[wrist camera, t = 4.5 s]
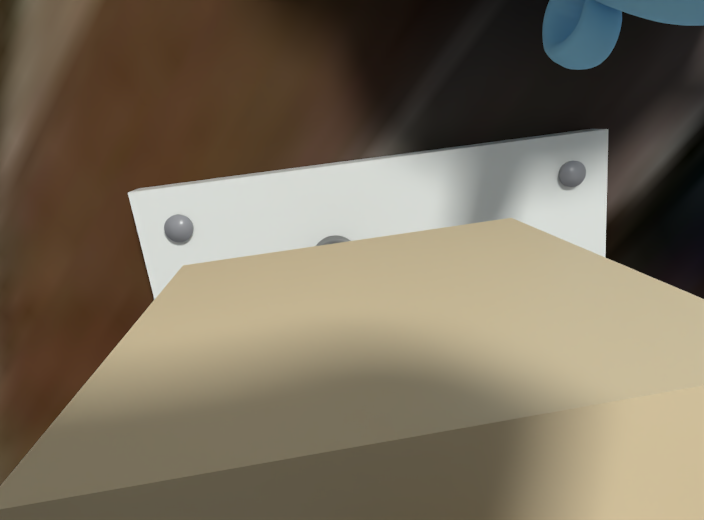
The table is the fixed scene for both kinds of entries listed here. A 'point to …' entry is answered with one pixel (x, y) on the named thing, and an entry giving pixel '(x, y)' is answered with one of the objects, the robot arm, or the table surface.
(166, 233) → the junction plate
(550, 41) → the decorative pot
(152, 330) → the beige block
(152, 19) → the table surface
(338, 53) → the table surface
